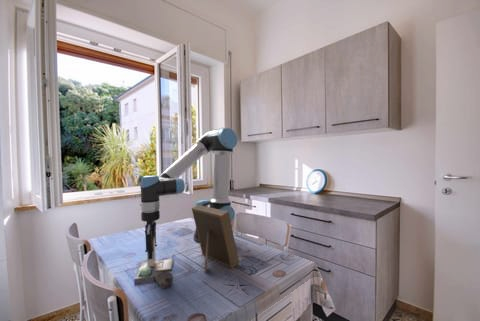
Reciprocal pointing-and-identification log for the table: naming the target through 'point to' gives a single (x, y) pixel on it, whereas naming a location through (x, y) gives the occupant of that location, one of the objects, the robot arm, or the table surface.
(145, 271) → the button
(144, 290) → the table surface
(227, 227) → the photo frame
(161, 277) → the stone
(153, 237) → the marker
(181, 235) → the table surface
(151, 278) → the button housing
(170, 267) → the cream rectangular board
